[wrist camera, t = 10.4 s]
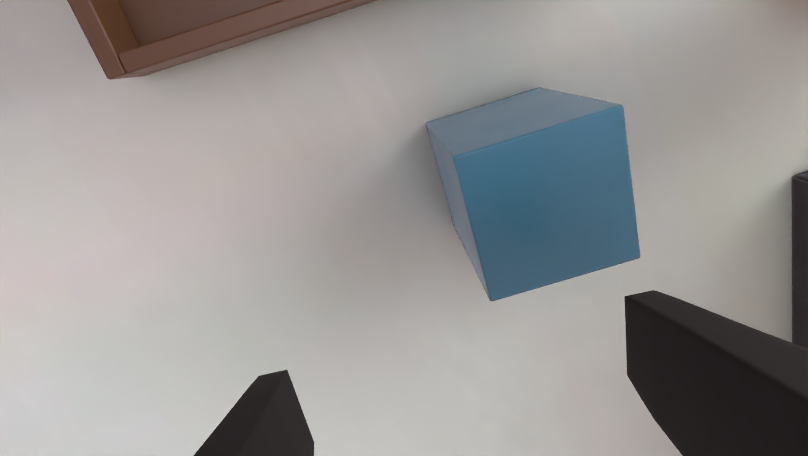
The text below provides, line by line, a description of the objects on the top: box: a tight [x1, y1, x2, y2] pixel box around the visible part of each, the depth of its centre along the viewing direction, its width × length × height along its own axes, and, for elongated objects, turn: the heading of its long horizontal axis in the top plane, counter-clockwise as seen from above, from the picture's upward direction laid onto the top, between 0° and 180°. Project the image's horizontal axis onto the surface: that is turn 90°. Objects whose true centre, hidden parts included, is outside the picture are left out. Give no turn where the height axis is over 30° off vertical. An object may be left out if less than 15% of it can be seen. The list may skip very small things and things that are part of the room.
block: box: [426, 88, 640, 301], centre depth 15 cm, size 4×4×6 cm
